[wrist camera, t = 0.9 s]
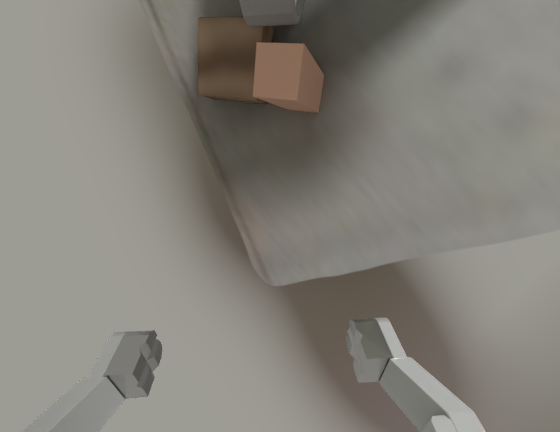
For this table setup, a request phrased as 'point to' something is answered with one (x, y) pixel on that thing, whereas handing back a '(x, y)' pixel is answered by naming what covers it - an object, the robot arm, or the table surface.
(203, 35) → the block
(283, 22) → the alarm clock
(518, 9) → the table surface
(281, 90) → the terracotta block
